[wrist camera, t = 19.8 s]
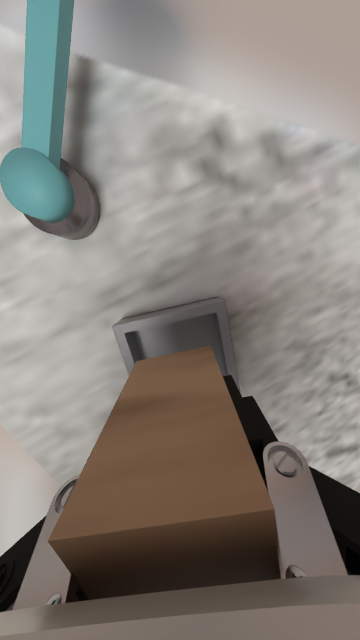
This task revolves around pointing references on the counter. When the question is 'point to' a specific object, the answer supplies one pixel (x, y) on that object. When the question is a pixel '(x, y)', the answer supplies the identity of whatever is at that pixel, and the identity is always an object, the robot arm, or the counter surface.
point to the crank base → (74, 209)
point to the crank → (42, 116)
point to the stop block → (169, 490)
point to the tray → (178, 334)
